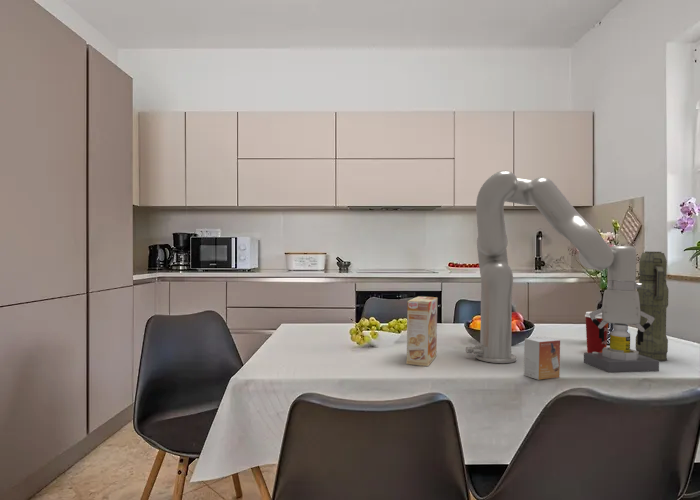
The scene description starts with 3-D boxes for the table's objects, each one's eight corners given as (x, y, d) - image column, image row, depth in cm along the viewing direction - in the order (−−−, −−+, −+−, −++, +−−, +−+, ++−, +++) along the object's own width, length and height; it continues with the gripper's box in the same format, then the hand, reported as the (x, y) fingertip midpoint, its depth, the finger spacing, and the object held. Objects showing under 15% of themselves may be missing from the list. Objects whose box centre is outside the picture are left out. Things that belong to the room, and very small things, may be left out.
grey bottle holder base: (609, 372, 141) (609, 355, 141) (583, 362, 153) (583, 346, 153) (658, 371, 143) (659, 354, 143) (630, 361, 155) (630, 345, 155)
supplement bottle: (628, 359, 144) (629, 326, 144) (608, 357, 147) (608, 324, 147) (631, 356, 148) (631, 324, 148) (611, 353, 152) (611, 322, 151)
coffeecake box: (428, 366, 145) (429, 301, 145) (405, 364, 148) (406, 300, 148) (437, 356, 159) (438, 296, 159) (416, 354, 162) (416, 295, 162)
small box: (538, 380, 132) (538, 341, 131) (523, 375, 137) (523, 338, 137) (560, 377, 135) (560, 339, 135) (544, 372, 140) (545, 336, 140)
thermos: (647, 362, 153) (649, 251, 153) (628, 354, 165) (629, 251, 165) (676, 363, 153) (678, 252, 153) (654, 354, 165) (656, 251, 165)
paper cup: (612, 357, 161) (613, 314, 160) (587, 355, 162) (588, 313, 162) (605, 352, 168) (605, 311, 168) (581, 350, 170) (581, 310, 170)
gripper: (653, 286, 147) (652, 343, 147) (589, 284, 155) (589, 337, 155) (656, 288, 140) (655, 348, 140) (589, 286, 148) (588, 342, 148)
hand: (620, 342), depth 148 cm, fingers open, 9 cm apart
